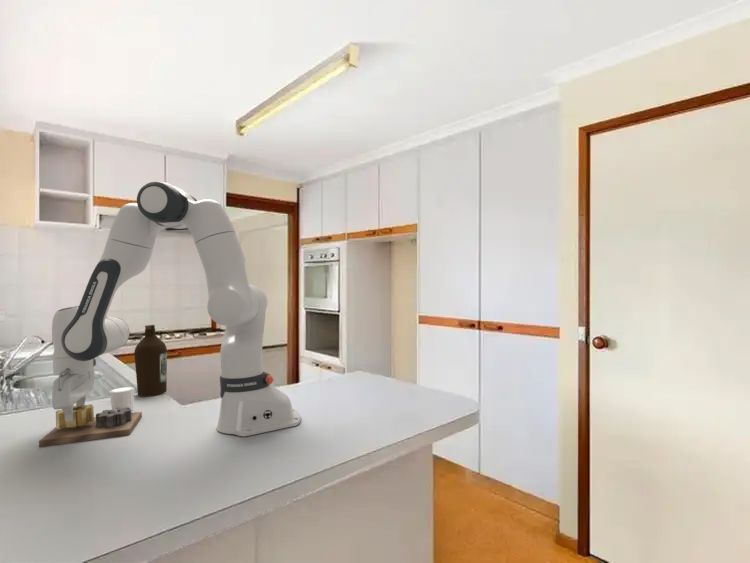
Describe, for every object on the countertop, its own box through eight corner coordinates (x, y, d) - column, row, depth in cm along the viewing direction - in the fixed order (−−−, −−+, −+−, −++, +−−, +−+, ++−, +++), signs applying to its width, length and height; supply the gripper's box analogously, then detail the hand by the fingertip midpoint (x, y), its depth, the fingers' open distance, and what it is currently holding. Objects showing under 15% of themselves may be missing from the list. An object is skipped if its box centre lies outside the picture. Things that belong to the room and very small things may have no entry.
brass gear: (97, 417, 119) (96, 403, 119) (89, 425, 112) (88, 410, 112) (61, 421, 116) (61, 407, 116) (51, 429, 110) (51, 414, 110)
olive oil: (131, 398, 147) (128, 327, 147) (141, 390, 158) (138, 324, 158) (164, 395, 150) (161, 325, 150) (171, 388, 160) (169, 323, 160)
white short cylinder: (123, 415, 129) (122, 392, 129) (104, 414, 130) (103, 391, 130) (140, 408, 135) (139, 386, 135) (122, 407, 137) (121, 386, 137)
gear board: (141, 416, 126) (141, 400, 126) (129, 434, 111) (129, 416, 111) (63, 426, 120) (62, 408, 120) (39, 446, 105) (38, 426, 105)
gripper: (73, 372, 105) (75, 427, 105) (98, 358, 125) (99, 404, 125) (43, 374, 103) (45, 430, 103) (73, 360, 123) (74, 407, 123)
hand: (75, 416), depth 114 cm, fingers closed on brass gear, 6 cm apart
